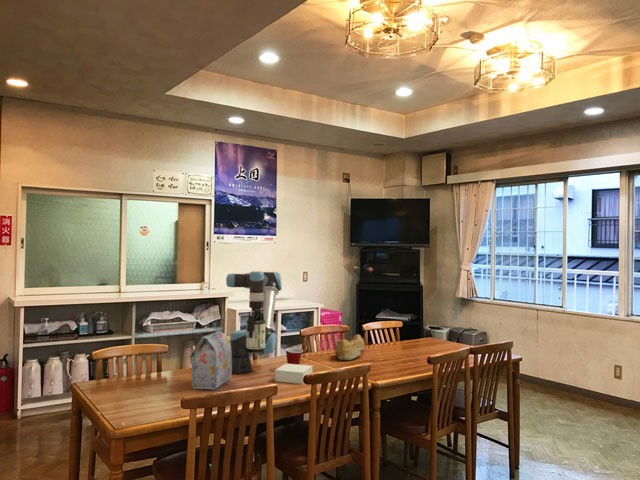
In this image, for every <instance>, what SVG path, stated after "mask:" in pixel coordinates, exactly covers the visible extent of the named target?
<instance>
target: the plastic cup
mask: <svg viewBox="0 0 640 480" xmlns="http://www.w3.org/2000/svg"><path fill="white" fill-rule="evenodd" d="M284 350H285V355H286V361H287V362H286V364H297V365H301V364H300V362H301V358H302V354H303V352H304V350H303V349H301V348H296V347H288V348H287V347H286V348H285V349H284Z"/></svg>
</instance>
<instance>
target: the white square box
mask: <svg viewBox="0 0 640 480" xmlns="http://www.w3.org/2000/svg"><path fill="white" fill-rule="evenodd" d="M311 373H312V374H313V365H307V364H299V365H297V364H288V363H284V364H282V365H280V366H279V367H278V368H276V369H275V370H274V382H278V383H279V382H281V383H290V384H299V385H303V377H304V376H305V375H307V374H311Z"/></svg>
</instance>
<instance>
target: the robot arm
mask: <svg viewBox="0 0 640 480" xmlns="http://www.w3.org/2000/svg"><path fill="white" fill-rule="evenodd" d="M225 280H226V281H225V282H226V283H225V284H226V286H227V287H228V288H244V289H249V292H248V293H249V296H248V297H249V298H248V300H249V303H248V307H249V308H250V309H251V311H249V312H248V320H247V321H248V325H247V324H246V329H247V331H248V332H249V344H254V332H253V331H254V324H253V322H256V320H265V321H266V323H265V348H263V349H248V348H246V329H240V330H238V329H237V330H234V331H231V333H230V336H229V337H230V338H229V340H230V343H231V354H232V374H248V373H252V372H253V369H254V367H253V363H252V361H251V354H272V353H273V352H274V351H275V349H276V346H277V339H278V338H277V336H278V335H277V333H276V332H275V330H274V328H273V327H274V326H273V325H274V316H275V308H276V307H275V306H276V296H278V295H279V292H280V291H282V288H283V287H282V277H281V273H280V272H278V271H256V270H255V271H251V272H247V273H227V275H226V279H225ZM250 353H251V354H250Z"/></svg>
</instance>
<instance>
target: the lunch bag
mask: <svg viewBox="0 0 640 480" xmlns="http://www.w3.org/2000/svg"><path fill="white" fill-rule="evenodd" d="M189 357H190V358H192V359H191V360H192V361H191V387H192V389H193V390H212V391H213V390H217V389H218V388H219V387H220V386H222V385H223V384H225V383H227V382H229V381H231V379H232V374H233V373H232V354H231V343H230V338H229V337H228V336H227V335H226V333H225V332H223V331H222V330H220V331H219V330H217V331H215V332H213V333H212V332H211V333H210V334H207V335H204V336H202V337H201V339H200V341H199V342H198V343H197V345H196V346H195V348H194V349H193V351H192V352H191V353H190V356H189Z"/></svg>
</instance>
